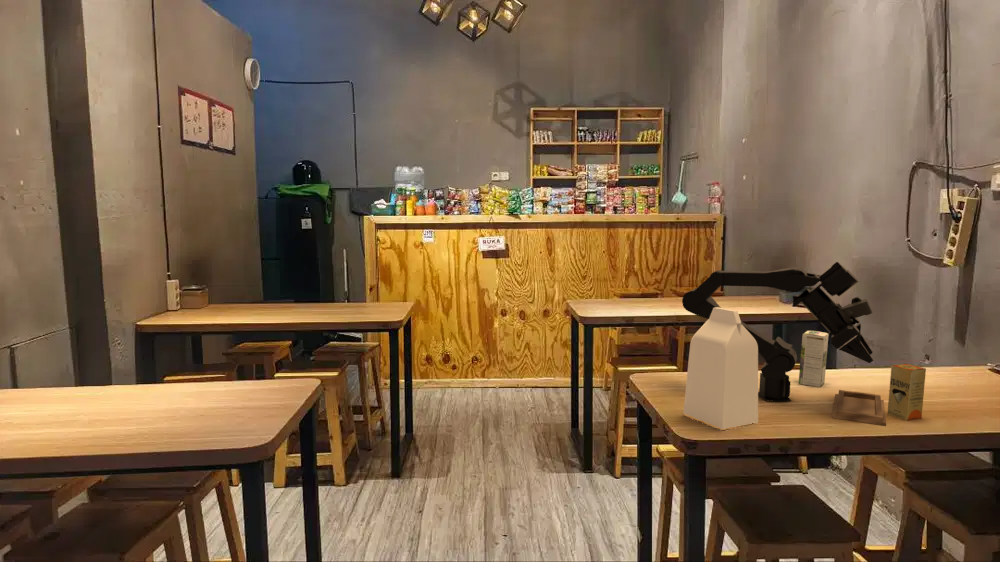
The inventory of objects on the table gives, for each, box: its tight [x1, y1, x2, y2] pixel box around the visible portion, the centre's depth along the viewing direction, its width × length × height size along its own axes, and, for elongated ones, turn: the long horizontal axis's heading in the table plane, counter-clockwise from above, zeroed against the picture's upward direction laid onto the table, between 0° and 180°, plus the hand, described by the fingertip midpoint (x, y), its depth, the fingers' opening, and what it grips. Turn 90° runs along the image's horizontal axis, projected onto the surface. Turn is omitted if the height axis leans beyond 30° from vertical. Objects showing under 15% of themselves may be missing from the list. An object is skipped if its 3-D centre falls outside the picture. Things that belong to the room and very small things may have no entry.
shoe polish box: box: [887, 363, 927, 421], centre depth 156 cm, size 5×5×12 cm
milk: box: [682, 307, 759, 429], centre depth 152 cm, size 12×12×26 cm
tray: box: [831, 389, 887, 426], centre depth 161 cm, size 11×20×2 cm, turn 151°
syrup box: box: [798, 330, 830, 388], centre depth 183 cm, size 6×6×14 cm
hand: (871, 357), depth 159 cm, fingers open, 9 cm apart
